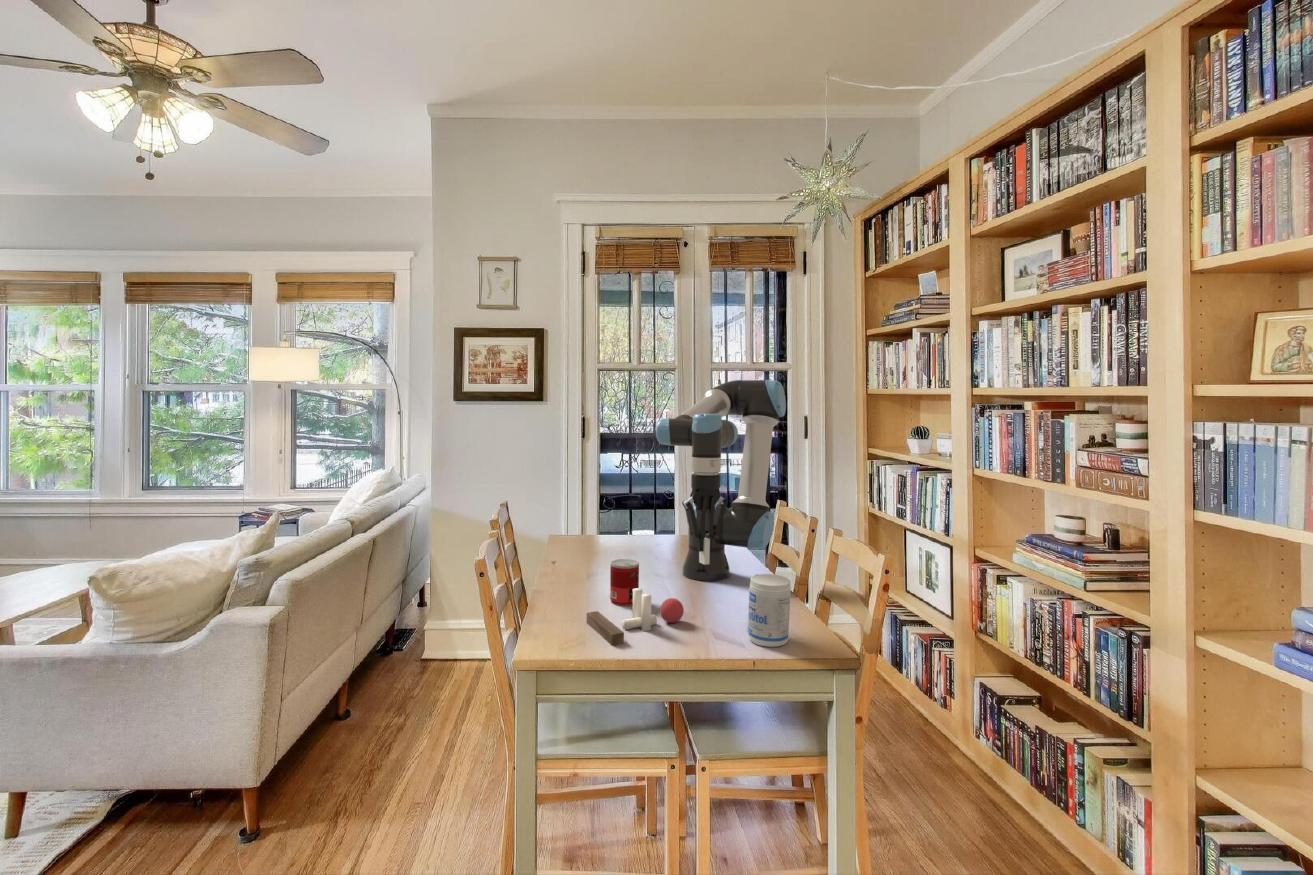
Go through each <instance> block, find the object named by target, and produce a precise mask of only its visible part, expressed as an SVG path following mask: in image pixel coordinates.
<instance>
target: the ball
mask: <svg viewBox="0 0 1313 875" xmlns="http://www.w3.org/2000/svg"><path fill="white" fill-rule="evenodd" d="M684 610H685V609H684V605H683V603H682V602H681V601H680V600H679V599H677V598H667V599H665V600H664V601H663V602H662V603H661V604H660V608H659V613H660V616H661V618H662V619H663V620H664V621H665V622H667V623H670V624H671V623H678V622H679V621H680V620H681V619H682V618H683V615H684V612H685V611H684Z"/></svg>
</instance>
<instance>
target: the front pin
mask: <svg viewBox="0 0 1313 875" xmlns="http://www.w3.org/2000/svg"><path fill="white" fill-rule="evenodd" d="M657 623H658V620H657V616H656V614H651V626H655V625H656V624H657ZM621 626H622V629H623V630H624V629H625V631H626V629H627V630H632V629H637V628H641V617H637V618H633V617H632V618H626V619H622V621H621Z"/></svg>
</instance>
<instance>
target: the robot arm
mask: <svg viewBox="0 0 1313 875" xmlns="http://www.w3.org/2000/svg"><path fill="white" fill-rule="evenodd" d="M786 401H787V400H786V394H785V390H784V387H783V385H782V383H781V382H780V381H778V380H773V379H772V380H769V379H764V380H763V379H762V380H760V379H756V380H755V379H752V380H751V379H749V380H747V379H743V380H741V379H736V380H730V381H727V382H724V383H721V384H719V385H717V386H715V387H712V388H711V389H709V390H708V391H707V392H705V394H704V396H703V397H702V399H700V400H699V401H697V402H696V403H694V404H693V405H692V406H690V407H688V408H687V409H686V410H684V411H683V412H681V413H680V414H679V415H678V416H676V417H674V418H669V417H668V418H661V419H659V420H658V422H657V424H656V427H655V436H656V440H657V442H658V443H659V444H660V445H665V446H670V447H671V446H674V447H675V446H676V447H677V446H678V447H691V472H693V473H692V474H691V479H690V480H691V486H690V487H691V492H690V495H689V496H690V497H689V498H687V499H686V500H682V502H681V504H682V506H683V508H684V510H685V513H686V514H685V515H686V519H687V524H688V550H687V553H686V557H685V558H684V563H683V565H682V575H683V576H684V577H687V578H688V579H692V580H696V581H697V580H698V581H706V582H707V581H708V582H710V581H711V582H713V581H721V580H725V579H727V578H729V577H730V573H731V572H730V571H731V569H730V565H729V562H728V558H727V555H726V549H725V546H730V547H731V546H732V547H738V548H747V549H758V550H760V549H764V548H765V547H767V546H768V544H769V542H770V540H771V539H772V536H773V531H774V529H775V528H774V527H775V515H774V513H773V512H772V511H770V505H769V504H768V503H767V501H766V496H767V486H768V478H769V477H768V476H769V468H770V460H771V459H770V458H771V448H772V443H773V442H772V440H773V433H774V432H773V431H774V430H773V429H774V427H775V426H777V425H778V424H779V420H780V418H782V417H785V415H786V410H787V402H786ZM725 416H742V418H741V419H742V421H743V422H744V424H745V425H746V426H745V433H744V442H743V449H742V451H743V452H742V460H741V468H740V477H739V484H738V485H739V486H738V493H737V494H738V495H737V498H736V499H735V500H733V501H732V503H731V507H727V505H728V503H729V499H728V498H724V497H723V496H722V495H721V492H720V488H721V479H722V478H721V477H722V476H721V474H719V473H720V472H721V471H722V470H721V465H722V464H721V463H722V462H721V460H722V448H723V449H726V448H729V447H730V446H732V445H733V444H735V443H736V441H737V440H738V437H739V431H738V428H737V426H736V424H734V422H733V421H730V420H727V419H723V417H725Z"/></svg>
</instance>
